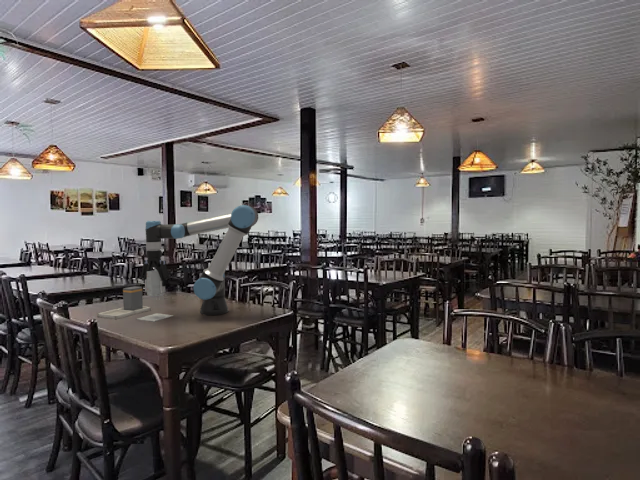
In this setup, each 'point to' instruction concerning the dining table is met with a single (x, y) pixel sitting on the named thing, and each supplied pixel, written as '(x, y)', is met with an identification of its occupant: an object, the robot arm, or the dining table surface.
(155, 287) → the small box
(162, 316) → the mat
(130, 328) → the dining table surface
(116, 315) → the beige rectangular board
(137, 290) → the twin block
